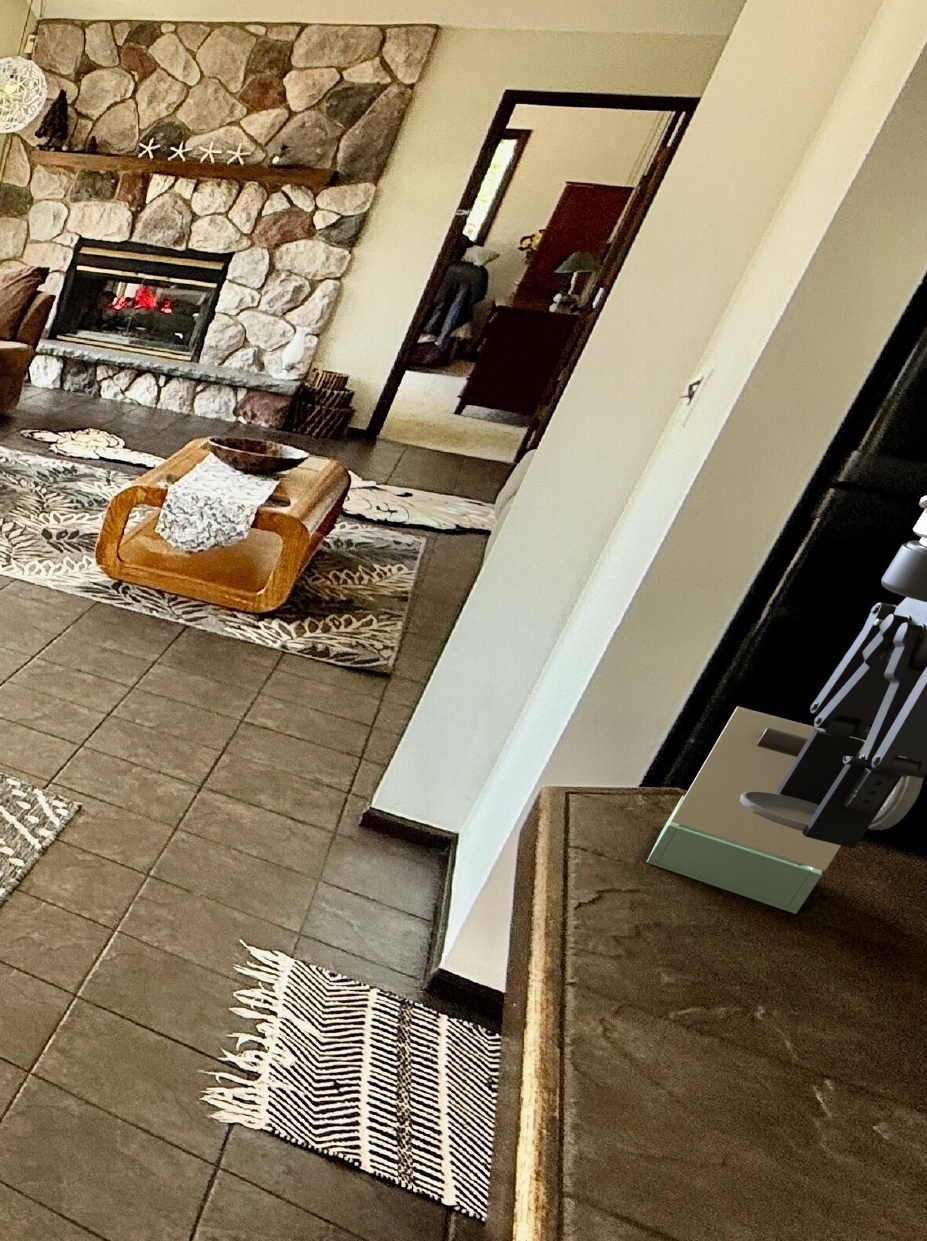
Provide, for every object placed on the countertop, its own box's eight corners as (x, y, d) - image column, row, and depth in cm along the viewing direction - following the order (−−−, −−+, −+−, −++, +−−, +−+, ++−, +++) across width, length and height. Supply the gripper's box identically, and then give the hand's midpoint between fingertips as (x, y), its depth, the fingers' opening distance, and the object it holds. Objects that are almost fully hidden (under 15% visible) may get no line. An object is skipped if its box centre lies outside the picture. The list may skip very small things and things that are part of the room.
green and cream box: (660, 833, 124) (682, 795, 122) (801, 880, 116) (828, 840, 114) (644, 865, 117) (668, 825, 115) (794, 917, 110) (821, 875, 108)
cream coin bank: (737, 706, 112) (739, 707, 106) (900, 749, 105) (912, 753, 98) (670, 820, 115) (669, 828, 109) (824, 870, 108) (831, 881, 102)
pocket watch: (713, 798, 98) (775, 690, 94) (810, 805, 98) (876, 697, 94) (819, 850, 90) (892, 734, 86) (924, 857, 91) (1002, 741, 87)
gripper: (859, 515, 95) (713, 765, 104) (970, 568, 79) (787, 855, 89) (997, 535, 91) (832, 793, 100) (1140, 596, 76) (931, 892, 85)
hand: (811, 822), depth 94 cm, fingers closed on pocket watch, 7 cm apart
